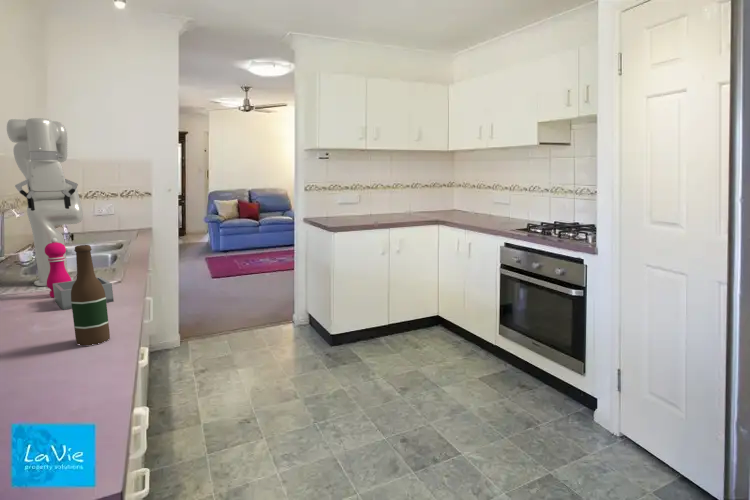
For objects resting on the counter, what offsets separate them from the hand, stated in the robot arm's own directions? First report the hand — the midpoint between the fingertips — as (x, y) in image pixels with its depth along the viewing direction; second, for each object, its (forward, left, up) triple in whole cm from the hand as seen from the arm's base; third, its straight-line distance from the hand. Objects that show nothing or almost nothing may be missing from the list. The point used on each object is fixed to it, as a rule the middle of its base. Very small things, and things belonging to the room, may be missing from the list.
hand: (50, 209), depth 159 cm
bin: (+15, +4, -30) cm, 33 cm away
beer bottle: (+60, -3, -30) cm, 67 cm away
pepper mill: (0, 0, -30) cm, 30 cm away
